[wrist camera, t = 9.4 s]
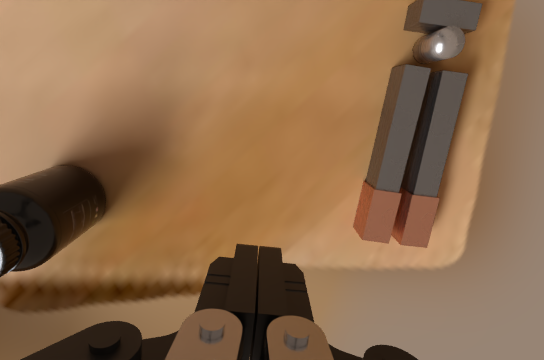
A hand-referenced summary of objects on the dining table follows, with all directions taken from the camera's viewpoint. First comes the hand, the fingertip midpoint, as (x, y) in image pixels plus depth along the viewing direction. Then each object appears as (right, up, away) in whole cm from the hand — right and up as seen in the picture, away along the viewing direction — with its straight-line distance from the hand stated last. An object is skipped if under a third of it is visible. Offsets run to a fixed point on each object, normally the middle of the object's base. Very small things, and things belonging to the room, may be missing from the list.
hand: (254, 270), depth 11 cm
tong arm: (+12, +6, +21) cm, 24 cm away
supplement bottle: (-19, +1, +21) cm, 29 cm away
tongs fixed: (+14, +8, +20) cm, 26 cm away
